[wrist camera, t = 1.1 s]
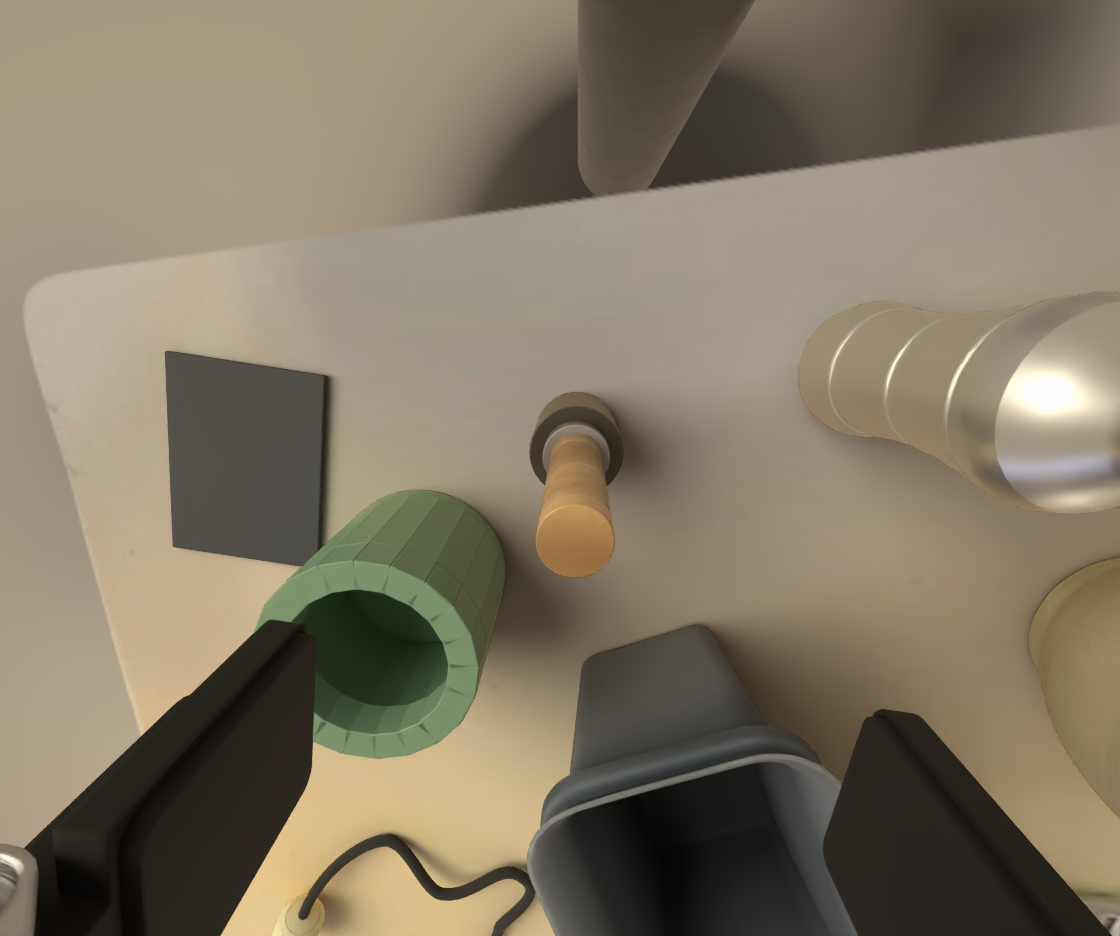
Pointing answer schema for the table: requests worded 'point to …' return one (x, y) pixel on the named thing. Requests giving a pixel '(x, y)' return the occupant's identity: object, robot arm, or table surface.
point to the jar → (397, 622)
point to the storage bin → (684, 807)
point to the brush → (576, 483)
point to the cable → (307, 911)
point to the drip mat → (245, 458)
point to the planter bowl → (1084, 671)
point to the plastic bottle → (983, 393)
